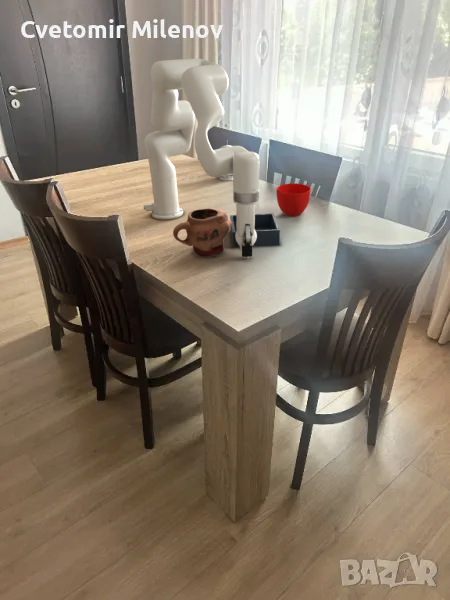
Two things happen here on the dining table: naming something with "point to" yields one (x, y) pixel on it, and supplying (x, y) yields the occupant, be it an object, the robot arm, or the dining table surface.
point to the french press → (229, 176)
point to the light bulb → (240, 240)
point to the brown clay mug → (205, 231)
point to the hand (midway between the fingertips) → (246, 250)
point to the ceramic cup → (293, 198)
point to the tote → (260, 230)
